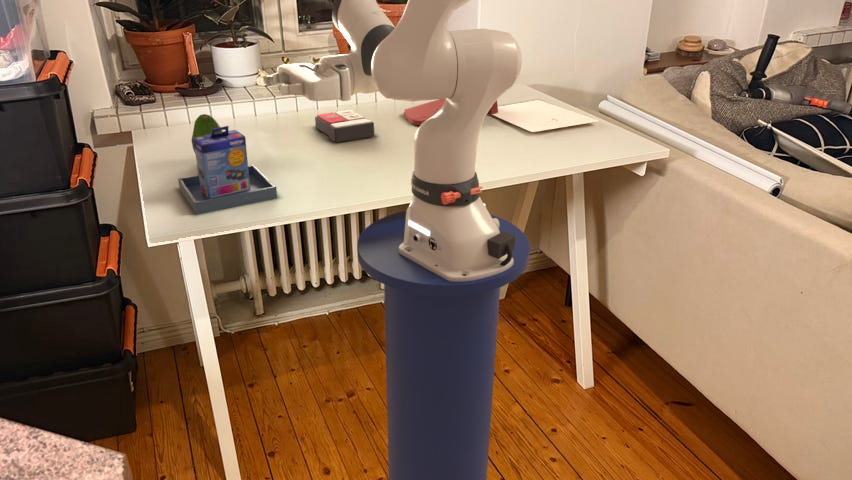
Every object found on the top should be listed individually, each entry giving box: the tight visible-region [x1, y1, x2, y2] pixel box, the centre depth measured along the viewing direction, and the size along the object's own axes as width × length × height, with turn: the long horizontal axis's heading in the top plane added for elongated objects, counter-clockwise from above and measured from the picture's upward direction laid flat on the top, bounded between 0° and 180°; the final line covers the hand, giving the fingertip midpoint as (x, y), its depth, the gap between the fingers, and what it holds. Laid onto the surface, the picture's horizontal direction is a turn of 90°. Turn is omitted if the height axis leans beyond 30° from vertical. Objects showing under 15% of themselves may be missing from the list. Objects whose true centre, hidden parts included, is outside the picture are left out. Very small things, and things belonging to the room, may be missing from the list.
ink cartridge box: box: [193, 125, 250, 199], centre depth 147 cm, size 10×6×14 cm, turn 124°
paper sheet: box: [488, 99, 600, 133], centre depth 194 cm, size 24×29×1 cm
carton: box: [403, 99, 499, 127], centre depth 196 cm, size 12×5×25 cm
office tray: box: [177, 164, 278, 215], centre depth 150 cm, size 15×17×2 cm
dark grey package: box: [314, 109, 375, 143], centre depth 185 cm, size 11×4×15 cm
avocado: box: [191, 113, 224, 153], centre depth 164 cm, size 8×8×12 cm
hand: (271, 85), depth 144 cm, fingers open, 8 cm apart
